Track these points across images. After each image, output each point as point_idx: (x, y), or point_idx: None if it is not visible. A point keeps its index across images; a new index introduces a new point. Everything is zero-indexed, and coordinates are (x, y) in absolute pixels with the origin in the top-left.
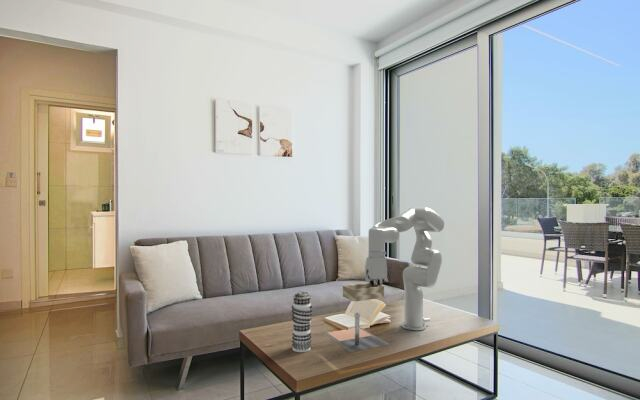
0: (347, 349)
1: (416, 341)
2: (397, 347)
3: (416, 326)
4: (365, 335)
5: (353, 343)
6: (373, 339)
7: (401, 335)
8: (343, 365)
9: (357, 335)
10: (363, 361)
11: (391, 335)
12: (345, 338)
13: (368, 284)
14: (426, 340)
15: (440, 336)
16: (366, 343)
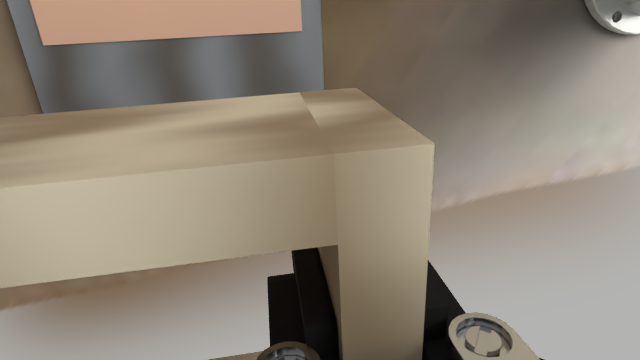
0: None
1: (482, 163)
2: None
3: (634, 11)
4: (261, 12)
5: (132, 104)
6: (279, 89)
7: (480, 60)
8: (7, 297)
9: None
10: (118, 285)
11: (431, 37)
12: (102, 10)
13: (251, 238)
14: (531, 167)
15: (625, 146)
16: None
